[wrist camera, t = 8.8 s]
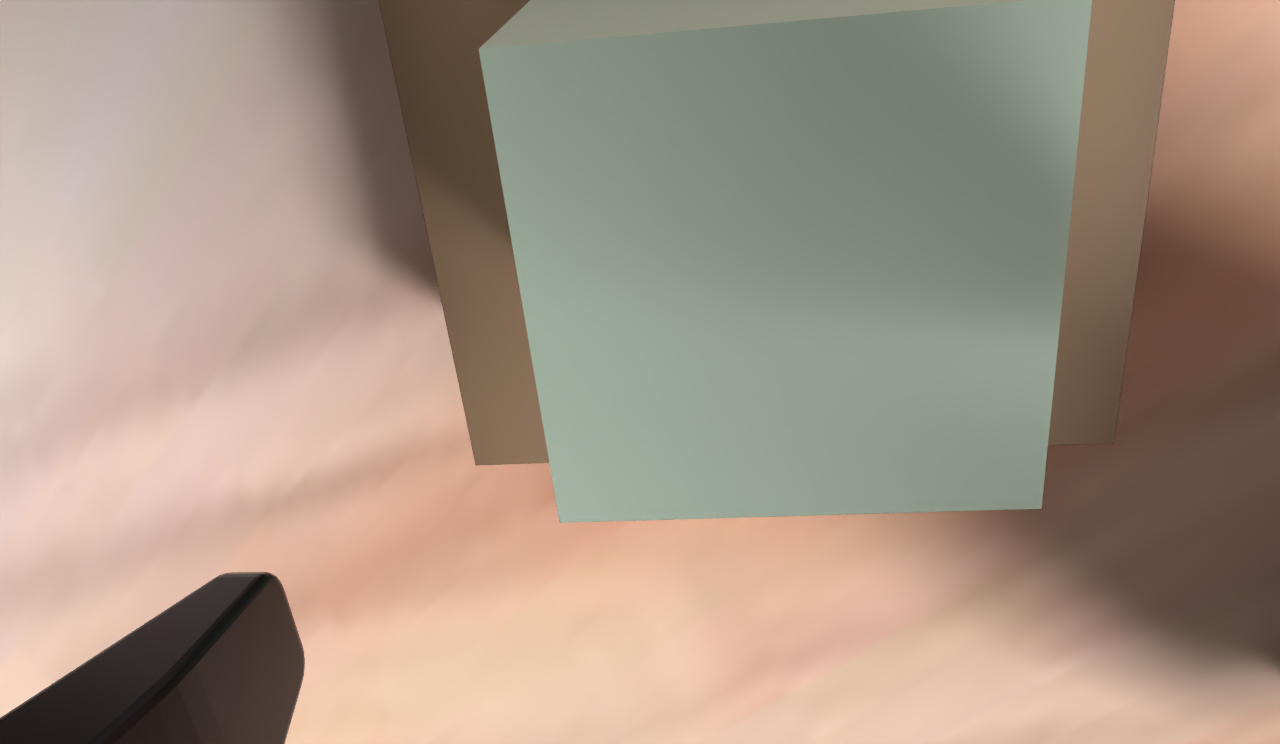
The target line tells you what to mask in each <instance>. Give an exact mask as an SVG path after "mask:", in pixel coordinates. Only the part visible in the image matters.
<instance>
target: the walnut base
mask: <svg viewBox="0 0 1280 744" xmlns="http://www.w3.org/2000/svg"><path fill="white" fill-rule="evenodd" d="M529 1H530V0H379V4H380V9H381V13H382V18H383V23H384V28H385V33H386V37H387V42H388V47H389V52H390V57H391V61H392V66H393V71H394V76H395V81H396V85H397V90H398V95H399V100H400V104H401V109H402V114H403V119H404V124H405V128H406V133H407V138H408V143H409V148H410V152H411V157H412V162H413V167H414V172H415V176H416V181H417V186H418V191H419V196H420V200H421V205H422V210H423V215H424V220H425V224H426V229H427V234H428V239H429V243H430V248H431V253H432V258H433V263H434V267H435V272H436V277H437V282H438V287H439V291H440V296H441V301H442V306H443V311H444V315H445V320H446V325H447V330H448V335H449V339H450V344H451V349H452V354H453V358H454V363H455V368H456V373H457V378H458V382H459V387H460V392H461V397H462V402H463V406H464V411H465V416H466V421H467V426H468V430H469V435H470V440H471V445H472V450H473V454H474V459H475V464H476V465H500V464H529V463H549V457H548V451H547V446H546V440H545V434H544V428H543V422H542V416H541V411H540V405H539V399H538V393H537V387H536V381H535V376H534V370H533V364H532V358H531V352H530V346H529V340H528V335H527V329H526V323H525V317H524V311H523V305H522V300H521V294H520V288H519V282H518V276H517V270H516V265H515V259H514V253H513V247H512V241H511V235H510V230H509V224H508V218H507V212H506V206H505V200H504V195H503V189H502V183H501V177H500V171H499V165H498V160H497V154H496V148H495V142H494V136H493V130H492V125H491V119H490V113H489V107H488V101H487V95H486V90H485V84H484V78H483V72H482V66H481V60H480V55H479V48H480V47H481V46H482V45H483V44H484V43H485V42H486V41H488V40H489V39H490V38H491V37H492V36H493V35H494V34H495V33H496V32H497V31H498V30H499V29H500V28H501V27H502V26H504V25H505V24H506V23H507V22H508V21H509V20H510V19H511V18H512V17H513V16H514V15H515V14H516V13H517V12H518V11H519V10H521V9H522V8H523V7H524V6H525V5H526V4H527V3H528V2H529ZM1174 4H1175V0H1092V7H1091V17H1090V27H1089V37H1088V47H1087V57H1086V67H1085V77H1084V87H1083V97H1082V107H1081V118H1080V128H1079V138H1078V148H1077V158H1076V168H1075V178H1074V188H1073V198H1072V208H1071V218H1070V228H1069V238H1068V248H1067V258H1066V268H1065V279H1064V289H1063V299H1062V309H1061V319H1060V329H1059V339H1058V349H1057V359H1056V369H1055V379H1054V389H1053V399H1052V409H1051V419H1050V429H1049V440H1048V446H1054V445H1084V444H1113V443H1114V438H1115V431H1116V424H1117V417H1118V409H1119V402H1120V395H1121V388H1122V381H1123V373H1124V366H1125V359H1126V352H1127V344H1128V337H1129V330H1130V323H1131V315H1132V308H1133V301H1134V294H1135V286H1136V279H1137V272H1138V265H1139V257H1140V250H1141V243H1142V236H1143V228H1144V221H1145V214H1146V207H1147V199H1148V192H1149V185H1150V178H1151V171H1152V163H1153V156H1154V149H1155V142H1156V134H1157V127H1158V120H1159V113H1160V105H1161V98H1162V91H1163V84H1164V76H1165V69H1166V62H1167V55H1168V47H1169V40H1170V33H1171V26H1172V18H1173V11H1174Z"/></svg>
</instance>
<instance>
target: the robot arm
mask: <svg viewBox="0 0 1280 744" xmlns="http://www.w3.org/2000/svg"><path fill="white" fill-rule="evenodd" d="M304 665H305V659H304V651H303V646H302V643H301V640H300V637H299V634H298V631H297V628H296V625H295V622H294V619H293V615H292V612H291V609H290V606H289V603H288V600H287V597H286V594H285V591H284V588H283V586H282V584H281V582H280V580H279V579H278V578H277V577H276V576H275V575H273V574H271V573H268V572H232V573H225V574H222V575H219V576H218V577H216V578H214V579H213V580H211V581H210V582H208V583H207V584H205V585H204V586H202V587H201V588H199V589H197V590H196V591H194V592H193V593H191V594H190V595H188V596H187V597H185V598H184V599H182V600H181V601H179V602H178V603H176V604H174V605H173V606H171V607H170V608H168V609H167V610H165V611H164V612H162V613H161V614H159V615H158V616H156V617H154V618H153V619H151V620H150V621H148V622H147V623H145V624H144V625H142V626H141V627H139V628H138V629H136V630H135V631H133V632H131V633H130V634H128V635H127V636H125V637H124V638H122V639H121V640H119V641H118V642H116V643H115V644H113V645H111V646H110V647H108V648H107V649H105V650H104V651H102V652H101V653H99V654H98V655H96V656H95V657H93V658H92V659H90V660H88V661H87V662H85V663H84V664H82V665H81V666H79V667H78V668H76V669H75V670H73V671H72V672H70V673H68V674H67V675H65V676H64V677H62V678H61V679H59V680H58V681H56V682H55V683H53V684H52V685H50V686H49V687H47V688H45V689H44V690H42V691H41V692H39V693H38V694H36V695H35V696H33V697H32V698H30V699H29V700H27V701H26V702H24V703H22V704H21V705H19V706H18V707H16V708H15V709H13V710H12V711H10V712H9V713H7V714H6V715H4V716H2V717H1V718H0V744H285V740H286V737H287V733H288V730H289V726H290V723H291V719H292V716H293V712H294V709H295V705H296V702H297V698H298V695H299V691H300V688H301V685H302V680H303V676H304Z"/></svg>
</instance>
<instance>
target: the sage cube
mask: <svg viewBox="0 0 1280 744" xmlns="http://www.w3.org/2000/svg"><path fill="white" fill-rule="evenodd" d="M1091 7H1092V0H530V1H529V2H528V3H527V4H526V5H525V6H524V7H523V8H522V9H521V10H519V11H518V12H517V13H516V14H515V15H514V16H513V17H512V18H511V19H510V20H509V21H508V22H507V23H506V24H505V25H504V26H502V27H501V28H500V29H499V30H498V31H497V32H496V33H495V34H494V35H493V36H492V37H491V38H490V39H489V40H488V41H486V42H485V43H484V44H483V45H482V46H481V47H480V48H479V55H480V60H481V66H482V72H483V78H484V84H485V90H486V95H487V101H488V107H489V113H490V119H491V125H492V130H493V136H494V142H495V148H496V154H497V160H498V165H499V171H500V177H501V183H502V189H503V195H504V200H505V206H506V212H507V218H508V224H509V230H510V235H511V241H512V247H513V253H514V259H515V265H516V270H517V276H518V282H519V288H520V294H521V300H522V305H523V311H524V317H525V323H526V329H527V335H528V340H529V346H530V352H531V358H532V364H533V370H534V376H535V381H536V387H537V393H538V399H539V405H540V411H541V416H542V422H543V428H544V434H545V440H546V446H547V451H548V457H549V463H550V469H551V475H552V481H553V486H554V492H555V498H556V504H557V510H558V516H559V521H560V523H567V522H601V521H636V520H670V519H704V518H739V517H773V516H808V515H842V514H877V513H911V512H945V511H980V510H1014V509H1042V500H1043V490H1044V480H1045V470H1046V460H1047V450H1048V440H1049V429H1050V419H1051V409H1052V399H1053V389H1054V379H1055V369H1056V359H1057V349H1058V339H1059V329H1060V319H1061V309H1062V299H1063V289H1064V279H1065V268H1066V258H1067V248H1068V238H1069V228H1070V218H1071V208H1072V198H1073V188H1074V178H1075V168H1076V158H1077V148H1078V138H1079V128H1080V118H1081V107H1082V97H1083V87H1084V77H1085V67H1086V57H1087V47H1088V37H1089V27H1090V17H1091Z"/></svg>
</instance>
